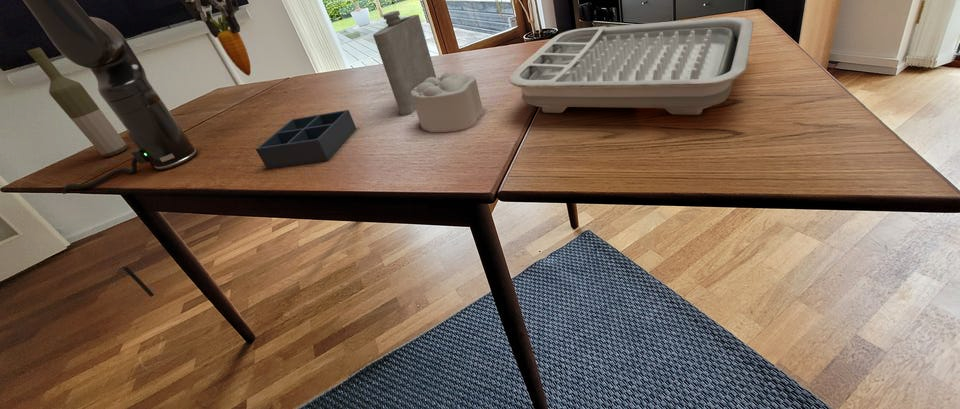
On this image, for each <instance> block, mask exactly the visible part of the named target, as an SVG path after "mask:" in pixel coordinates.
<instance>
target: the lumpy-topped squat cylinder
mask: <svg viewBox="0 0 960 409" xmlns="http://www.w3.org/2000/svg"><path fill="white" fill-rule="evenodd" d="M411 96H412V99H413V102H414V105H415V112H416V115H417V118H418V121H419V124H420V127H421V129H423V131H427V132H431V133H447V132H458V131H463V130H466V129H469V128H472V127H473V126H474V125H475V124H476V122H477V120H478V119H479V118H480V117H481V116H482V115H483V114H484V109H483V105H482V100H481V95H480V91H479V87H478V83H477V78H476V77H475V76H473V75H466V74H462V73H460V74H459V73H458V74H456V72H453V71H446V72H444V73H443V74H441V76H440V77H436V78H435V77H429V78H427V79H426V80H425V81H424V82H423V83H421V84H420V85H418V86H417V87H415V88H414V89H413V90H412V91H411Z"/></svg>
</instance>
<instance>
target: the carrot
mask: <svg viewBox="0 0 960 409" xmlns="http://www.w3.org/2000/svg"><path fill="white" fill-rule="evenodd" d="M225 18H226V17H225V16H224V15H223V14H222V13H221V16H218V17H217V21H216V20H215V19H214V18H213V19H210V22H212V23H213V24H214V25H216V26H217V27H218V28H219V29H220V31H221V32H220V33H219V34H218V36H217V39H218V41H219V43H220V45H221V47H222V48H223V50H224V53H225V54H226V55H227V57H228V58H229V59H230V61H231V62H232V63H233V64H234V65H235V67H236V68H237V69H238V70H240V72H242V73H243V74H245V75H246V76H248V77H249V76H251V70H252V69H251V61H250V57H249V54H248V50H247V47H246V46H245V45H246V44H244V41H243V39H242V37H241V34H240V32H238V33H232V31H231V29H230V27H229V25H228V23H227V21H226V20H225ZM214 20H215V21H214Z"/></svg>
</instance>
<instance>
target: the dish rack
mask: <svg viewBox="0 0 960 409" xmlns="http://www.w3.org/2000/svg"><path fill="white" fill-rule="evenodd" d="M753 32H754V22H753V21H752V20H751V19H748V18H746V17H741V16H722V17H709V18H697V19H686V20H672V21H662V22H649V23H637V24H636V23H635V24H628V25H627V24H626V25H614V26H606V25H604V26H603V25H602V26H592V27H582V28H575V29H570V30H566V31H563V32H560V33H559V34H557V35H555V36H554V37H552V38H551V39H549V41H547V42H545V44H544V45H542V46H541V47H540V48H539V49H538V50H537V51H535V52H534V53H533V54H532V55H531V56H529V57H528V58H527V59H526V60H525V61H524V62H522V63H521V64H520V65H519V66H517V68H516V69H515V70H514V71H513V72H512V73H510V75H509V77H508V82H509V84H510V85H512V86H514V87H517V88H520V89H521V96H522V97H521V98H522V100H523V102H524V103H525V104H528V105H531V106H535V107H540V108H541V110H542V112H543V113H546V114H548V113H549V114H561V113H563V112H564V111H565V110H566V109H567V108H630V109H631V108H632V109H633V108H634V109H636V108H637V109H665V111H667V112H668V113H669V114H671V115H694V116H695V115H697V116H698V115H701V114H702V112H703V110H704V109H708V108H710V107H712V106H717V105H720V104H721V103H723V102H725V101H726V100H727V99H728V98H730V94H731V92H732V89H733V85H734V81H735V79H737V78H739V77H741V75H743V74H744V73H745V71H746V69H747V67H748V61H749V56H750V49H751V43H752V36H753Z"/></svg>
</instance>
